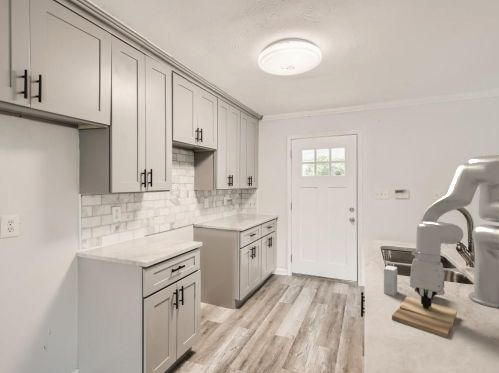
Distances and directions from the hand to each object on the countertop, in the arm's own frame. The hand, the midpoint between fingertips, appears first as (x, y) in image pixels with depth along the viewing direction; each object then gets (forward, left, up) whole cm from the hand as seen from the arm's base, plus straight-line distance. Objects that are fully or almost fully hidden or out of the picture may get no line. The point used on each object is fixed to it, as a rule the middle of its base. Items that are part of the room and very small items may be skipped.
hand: (426, 306), depth 101 cm
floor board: (+5, +1, -3) cm, 6 cm away
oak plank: (0, +1, -2) cm, 2 cm away
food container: (-18, -3, -4) cm, 19 cm away
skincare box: (-10, -15, -4) cm, 19 cm away
